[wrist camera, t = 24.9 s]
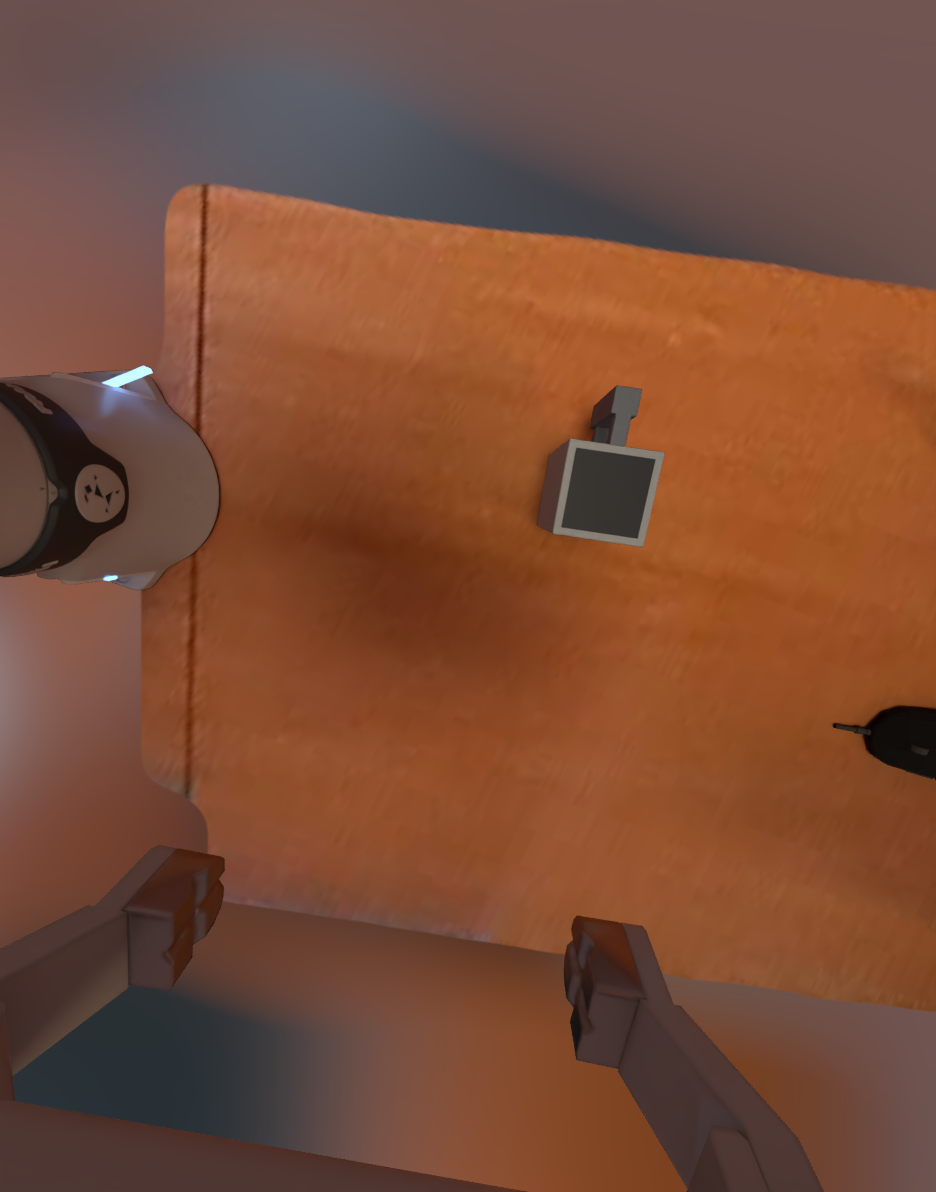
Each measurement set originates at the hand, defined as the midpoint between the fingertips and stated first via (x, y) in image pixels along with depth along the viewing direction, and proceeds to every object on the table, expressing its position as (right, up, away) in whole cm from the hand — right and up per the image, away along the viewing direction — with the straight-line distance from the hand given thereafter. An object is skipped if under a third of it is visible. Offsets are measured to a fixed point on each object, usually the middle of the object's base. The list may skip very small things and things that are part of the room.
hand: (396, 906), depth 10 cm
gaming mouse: (+43, -6, +31) cm, 53 cm away
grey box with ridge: (+10, +12, +24) cm, 28 cm away
